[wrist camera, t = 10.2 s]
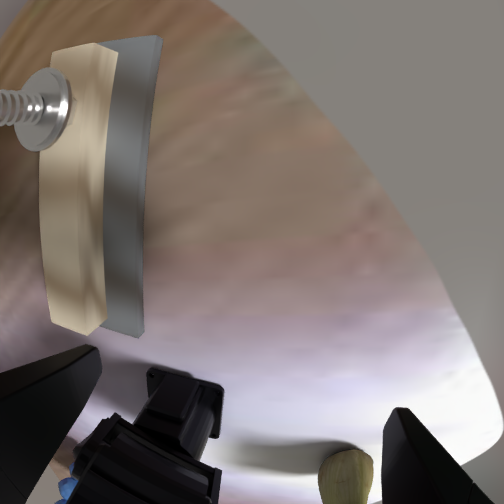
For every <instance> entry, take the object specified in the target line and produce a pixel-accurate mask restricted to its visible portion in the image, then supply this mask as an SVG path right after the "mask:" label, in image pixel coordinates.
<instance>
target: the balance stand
mask: <svg viewBox="0 0 504 504" xmlns="http://www.w3.org/2000/svg"><path fill="white" fill-rule="evenodd" d="M162 44H163V39H162V38H160V37H159V36H157V35H152V36H142V37H134V38H127V39H120V40H113V41H107V42H101V43H90V44H85V45H80V46H75V47H71V48H67V49H63V50H59V51H55V52H53V53H52V58H51V63H50V68H55V69H58V70H60V71H62V72H63V73H64V74H65V75H66V76H67V78H68V80H69V82H70V86H71V89H72V95H73V96H74V97H75V99H76V100H77V101H78V102H77V106H76V110H75V114H74V119H73V123H72V124H71V125H69V126H68V127H66V128H65V129H64V131H63V133H62V135H61V136H60V138H59V139H58V140H57V142H56V143H54V144H53V145H52V146H51V147H50V148H48V149H46V150H43V151H40V161H39V214H40V234H41V247H42V258H43V268H44V276H45V284H46V291H47V298H48V304H49V310H50V316H51V321H52V323H55V324H57V325H60V326H62V327H65V328H67V329H70V330H73V331H75V332H78V333H81V334H83V335H86V336H88V335H89V334H90V333H92V332H93V331H94V330H95V329H96V328H97V327H98V326H100V327H103V328H106V329H109V330H113V331H116V332H119V333H122V334H125V335H129V336H132V337H135V338H139V337H140V336H141V335H142V334H143V333H144V314H143V222H144V199H145V182H146V168H147V156H148V145H149V135H150V125H151V117H152V108H153V101H154V93H155V86H156V79H157V73H158V67H159V61H160V55H161V49H162Z"/></svg>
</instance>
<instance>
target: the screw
mask: <svg viewBox="0 0 504 504" xmlns="http://www.w3.org/2000/svg"><path fill="white" fill-rule="evenodd" d="M77 102H78V101H77V100H76V99H75V97H74V96H73V95H72V89H71V86H70V82H69V80H68V78H67V76H66V75H65V74H64V73H63V72H62V71H60V70H58V69H55V68H44V69H41V70H39V71H37V72H36V73H34V74H33V75H32V76H31V77H30V78H29V79H28V81H27V82H26V83H25V84H24V86H23V87H22V89H21V91H14V90H9V91H7V90H5V89H2V90H0V126H3V125H4V124H5V123H6V125H8V126H11V125H13V124H14V128H15V132H16V134H17V137H18V139H19V141H20V143H21V144H22V145H23V146H24V148H26V149H28V150H29V151H35V152H36V151H43V150H46V149H48V148H50V147H51V146H52V145H53V144H54V143H56V142H57V140H58V139H59V138H60V136H61V135H62V133H63V131H64V129H65V128H66V127H68V126H69V125H71V124H72V123H73V119H74V114H75V110H76V106H77Z"/></svg>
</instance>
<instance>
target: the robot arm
mask: <svg viewBox="0 0 504 504" xmlns="http://www.w3.org/2000/svg"><path fill="white" fill-rule="evenodd" d="M101 373H102V364H101V359H100V354H99V350H98V348H96V347H94V346H91V345H88V344H85V345H82V346H79V347H76V348H74V349H71V350H68V351H65V352H62V353H59V354H56V355H53V356H50V357H47V358H44V359H41V360H38V361H35V362H32V363H29V364H26V365H23V366H20V367H17V368H14V369H11V370H8V371H5V372H2V373H0V504H25V503H26V501H27V499H28V497H29V496H30V494H31V492H32V490H33V489H34V487H35V485H36V484H37V482H38V480H39V479H40V477H41V475H42V474H43V472H44V470H45V469H46V467H47V465H48V464H49V462H50V461H51V459H52V457H53V456H54V454H55V453H56V451H57V449H58V448H59V446H60V445H61V443H62V441H63V440H64V438H65V437H66V435H67V434H68V432H69V430H70V429H71V427H72V426H73V424H74V423H75V421H76V420H77V418H78V417H79V415H80V413H81V412H82V410H83V408H84V407H85V405H86V403H87V401H88V399H89V397H90V395H91V393H92V391H93V389H94V387H95V385H96V383H97V381H98V379H99V377H100V376H101ZM153 374H154V375H153ZM146 376H147V387H148V397H149V399H148V401H147V402H146V404H145V405H144V407H143V408H142V410H141V412H140V413H139V415H138V416H137V418H136V419H135V421H134V422H133V424H131V423H129V422H128V421H126V420H124V419H123V418H121V416H120V415H119V414H117V413H116V412H115V413H114V414H113V415H112V416H111V417H110V419H109V418H107V419H102V420H101V422H100V423H99V424H98V426H97V427H96V428H95V430H94V431H93V432H92V433H91V434H90V435H89V436H88V437H86V438H85V439H84V440H83V441H82V442H81V443H79V444H78V445H77V446H76V447H75V448H74V450H73V456H74V459H75V462H74V465H73V466H74V468H73V470H72V473H71V476H72V477H73V478H75V479H76V480H78V482H77V484H76V486H75V488H74V489H73V491H72V493H71V495H70V496H69V498H68V500H67V502H66V504H218V499H219V491H220V483H221V475H222V470H220V469H218V468H213V467H211V466H208V465H206V464H204V463H202V462H200V459H201V456H202V453H203V451H204V448H205V446H206V443H207V441H208V438H213V439H217V438H219V435H220V430H221V420H222V410H223V400H224V389H223V388H222V387H221V386H218V385H214V384H210V383H206V382H202V381H198V380H194V379H190V378H186V377H182V376H179V375H175V374H172V373H168V372H165V371H161V370H158V369H154V368H150V369H149V370H148V371H147V373H146ZM216 391H218V392H216ZM381 484H382V504H494V503H493V502H492V501H491V500H490V499H489V498H488V497H487V496H486V494H485V493H484V492H483V491H482V490H481V489H480V488H479V487H478V486H477V484H476V483H473V480H472V479H471V478H470V477H469V475H468V474H467V473H466V472H465V471H464V470H463V469H462V468H461V466H460V465H459V464H458V463H457V462H456V461H455V460H454V459H453V457H452V456H451V455H450V454H449V453H448V452H447V451H446V450H445V448H444V447H443V446H442V445H441V444H440V443H439V442H438V441H437V439H436V438H435V437H434V436H433V435H432V434H431V433H430V432H429V430H428V429H427V428H426V427H425V426H424V425H423V424H422V423H421V422H420V420H419V419H418V418H417V417H416V416H415V415H414V414H413V413H412V411H411V410H410V409H408V408H403V407H396V408H394V409H393V411H392V413H391V415H390V417H389V418H388V420H387V422H386V424H385V426H384V429H383V448H382V468H381Z"/></svg>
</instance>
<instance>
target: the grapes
mask: <svg viewBox="0 0 504 504" xmlns="http://www.w3.org/2000/svg"><path fill="white" fill-rule="evenodd" d="M73 465H74V462H73V463H72V464H71V465H70V466H69V470H70V475H71V473H72V470H73V468H74V466H73ZM71 477H72V476H71ZM71 477H70V478H65V479H63V480H61V481H60V482H59V483H58V485H59V491H60V494H61V496H62V497H63V498H64V499H61V500H59V501H57V502H56V503H55V504H66V502H67V500H68V498H69V496H70V495H71V493H72V491H73V489H74V488H75V486H76V484H77V482H78V480H76V479H75V478H73V477H72V478H71Z"/></svg>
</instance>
